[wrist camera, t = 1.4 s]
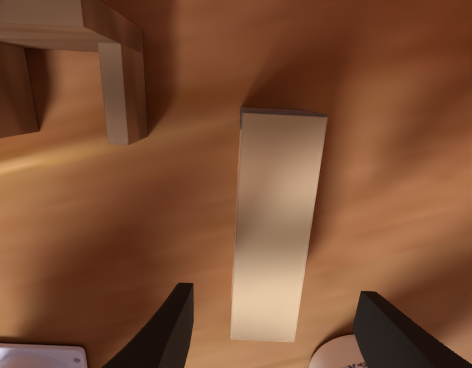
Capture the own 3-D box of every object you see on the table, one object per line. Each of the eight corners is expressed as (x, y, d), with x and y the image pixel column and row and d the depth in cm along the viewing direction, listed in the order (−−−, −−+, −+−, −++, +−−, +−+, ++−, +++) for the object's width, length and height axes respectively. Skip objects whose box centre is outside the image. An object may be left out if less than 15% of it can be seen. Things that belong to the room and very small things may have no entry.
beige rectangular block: (280, 282, 20) (294, 342, 15) (231, 280, 19) (229, 339, 15) (301, 109, 16) (329, 115, 11) (240, 106, 16) (241, 110, 11)
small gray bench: (147, 136, 16) (76, 167, 9) (22, 130, 16) (-151, 157, 9) (141, 23, 14) (45, -51, 7) (-1, 15, 14) (-240, -66, 7)
